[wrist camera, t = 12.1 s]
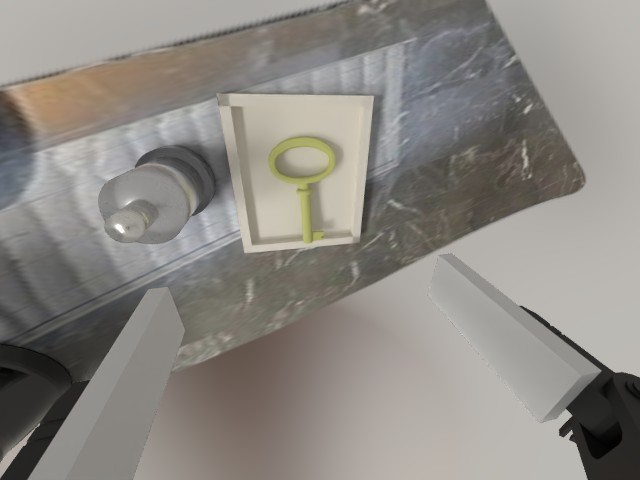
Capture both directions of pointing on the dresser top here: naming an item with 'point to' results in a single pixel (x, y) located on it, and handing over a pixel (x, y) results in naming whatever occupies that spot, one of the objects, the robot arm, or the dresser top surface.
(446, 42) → the dresser top surface
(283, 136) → the tray
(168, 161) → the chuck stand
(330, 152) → the key
